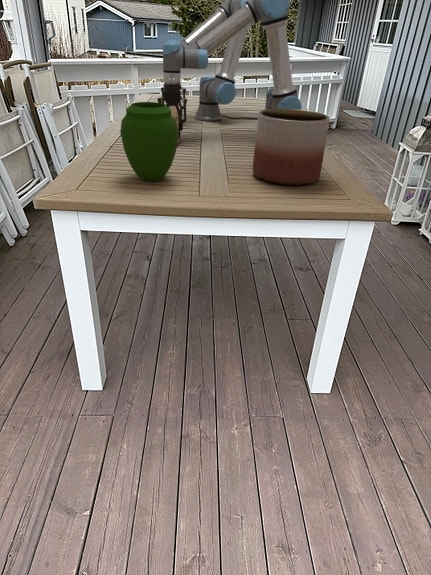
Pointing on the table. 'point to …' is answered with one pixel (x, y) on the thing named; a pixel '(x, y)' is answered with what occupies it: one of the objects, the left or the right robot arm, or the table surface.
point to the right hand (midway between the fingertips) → (172, 137)
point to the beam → (175, 117)
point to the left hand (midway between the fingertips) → (174, 121)
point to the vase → (149, 139)
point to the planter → (290, 146)
